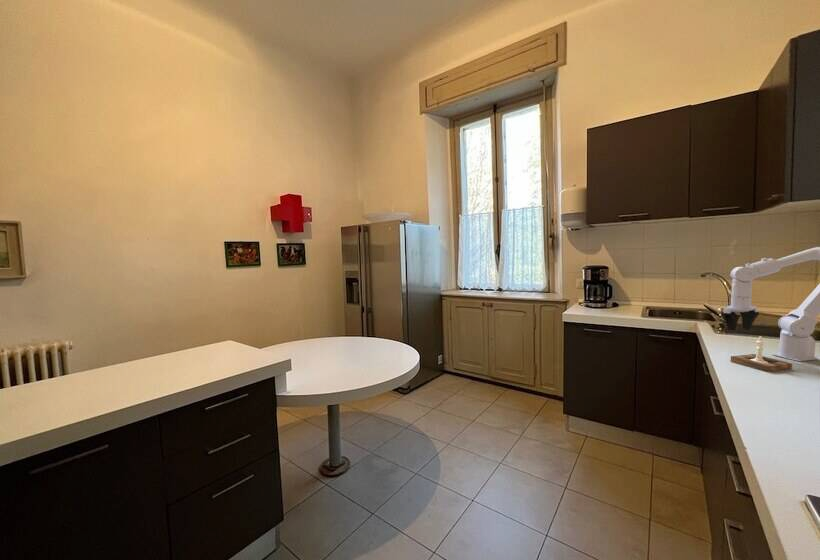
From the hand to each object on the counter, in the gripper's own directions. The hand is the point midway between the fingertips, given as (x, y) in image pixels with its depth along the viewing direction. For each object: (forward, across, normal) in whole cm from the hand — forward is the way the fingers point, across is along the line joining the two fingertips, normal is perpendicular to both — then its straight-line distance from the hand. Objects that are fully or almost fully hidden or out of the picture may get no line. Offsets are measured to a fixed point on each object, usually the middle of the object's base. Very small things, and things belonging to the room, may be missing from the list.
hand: (739, 329), depth 131 cm
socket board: (+9, +9, +13) cm, 18 cm away
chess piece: (+9, +9, +12) cm, 18 cm away
